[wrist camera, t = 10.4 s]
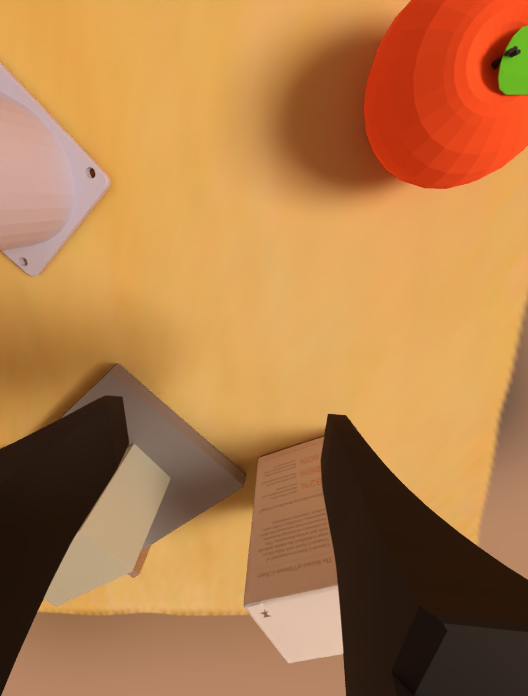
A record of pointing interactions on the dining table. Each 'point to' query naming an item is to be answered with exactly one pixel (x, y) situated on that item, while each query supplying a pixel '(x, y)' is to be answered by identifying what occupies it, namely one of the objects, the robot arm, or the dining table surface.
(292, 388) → the dining table surface
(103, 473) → the robot arm
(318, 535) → the small box
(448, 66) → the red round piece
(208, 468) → the grey square slab
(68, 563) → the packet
